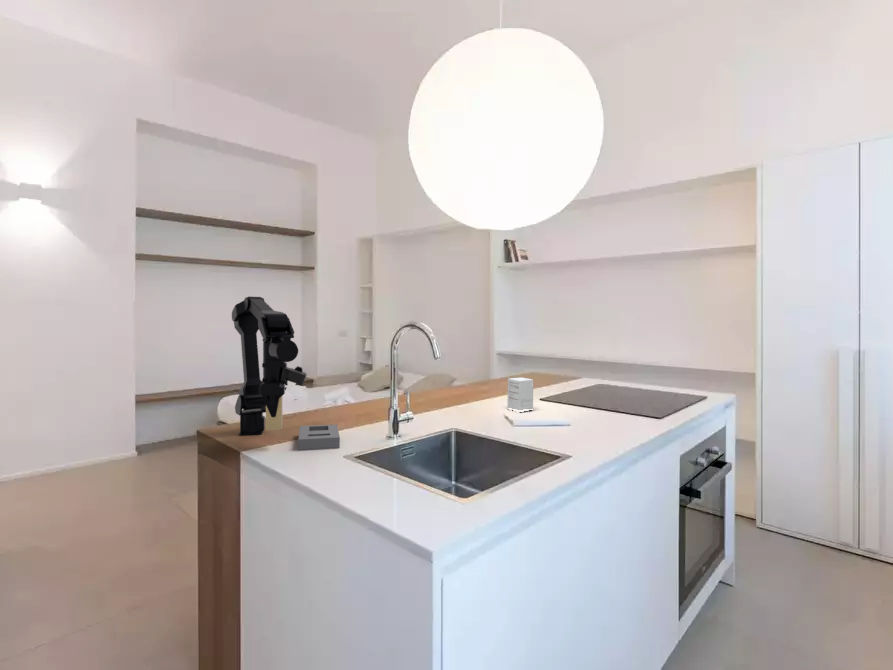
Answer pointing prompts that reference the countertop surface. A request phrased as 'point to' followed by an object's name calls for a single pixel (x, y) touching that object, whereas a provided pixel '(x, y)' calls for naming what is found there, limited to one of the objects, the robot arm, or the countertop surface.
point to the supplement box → (520, 393)
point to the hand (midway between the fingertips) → (274, 415)
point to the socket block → (318, 437)
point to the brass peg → (274, 418)
